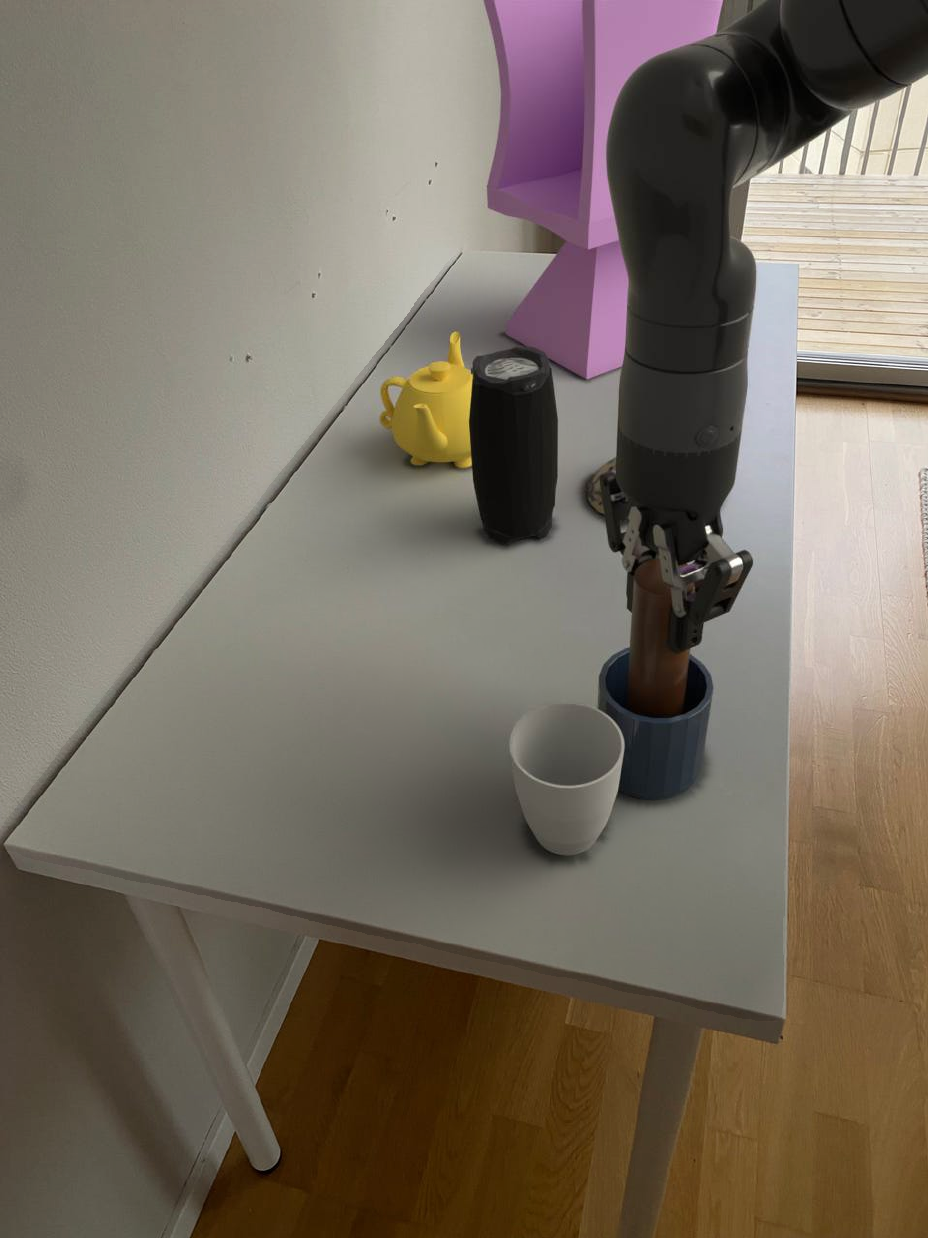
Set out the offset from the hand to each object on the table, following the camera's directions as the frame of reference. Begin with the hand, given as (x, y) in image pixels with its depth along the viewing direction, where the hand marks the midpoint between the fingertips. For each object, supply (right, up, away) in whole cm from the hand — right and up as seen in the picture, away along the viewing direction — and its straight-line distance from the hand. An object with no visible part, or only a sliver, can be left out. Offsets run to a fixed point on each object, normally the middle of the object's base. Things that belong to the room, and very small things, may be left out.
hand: (661, 626), depth 68 cm
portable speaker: (-8, +11, +36) cm, 39 cm away
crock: (+1, -11, +10) cm, 15 cm away
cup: (-6, -16, +5) cm, 18 cm away
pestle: (+1, -7, +6) cm, 9 cm away
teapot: (-17, +22, +50) cm, 57 cm away
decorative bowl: (+7, +15, +40) cm, 43 cm away
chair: (+6, +43, +72) cm, 84 cm away
